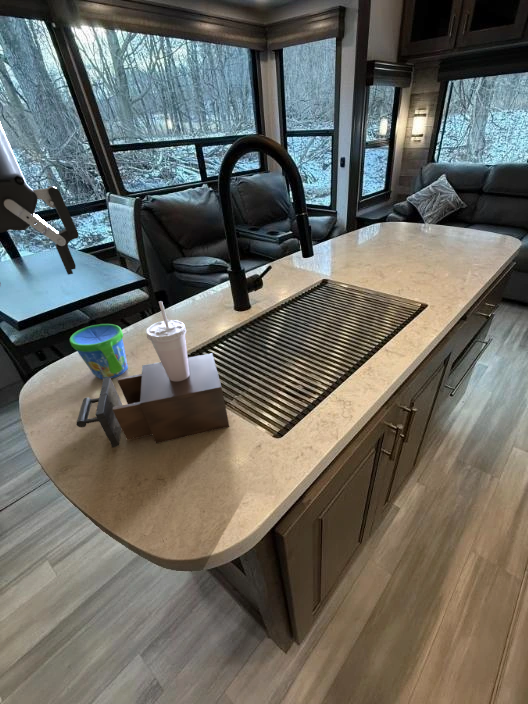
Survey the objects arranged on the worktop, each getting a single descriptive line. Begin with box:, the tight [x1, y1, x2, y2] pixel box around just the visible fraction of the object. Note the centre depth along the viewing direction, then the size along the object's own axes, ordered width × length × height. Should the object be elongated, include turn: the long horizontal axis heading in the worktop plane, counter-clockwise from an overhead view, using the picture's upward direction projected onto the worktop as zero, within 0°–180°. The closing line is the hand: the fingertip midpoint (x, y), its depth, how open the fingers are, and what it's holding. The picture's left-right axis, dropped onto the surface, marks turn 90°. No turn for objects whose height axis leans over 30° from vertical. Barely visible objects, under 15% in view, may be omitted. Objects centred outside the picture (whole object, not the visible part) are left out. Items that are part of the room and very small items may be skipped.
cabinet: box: [140, 353, 230, 444], centre depth 65 cm, size 14×13×10 cm
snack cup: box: [69, 323, 129, 380], centre depth 77 cm, size 16×10×10 cm
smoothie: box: [145, 300, 190, 381], centre depth 57 cm, size 6×6×14 cm
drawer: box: [75, 373, 153, 448], centre depth 62 cm, size 17×11×8 cm
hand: (35, 278), depth 46 cm, fingers open, 8 cm apart
